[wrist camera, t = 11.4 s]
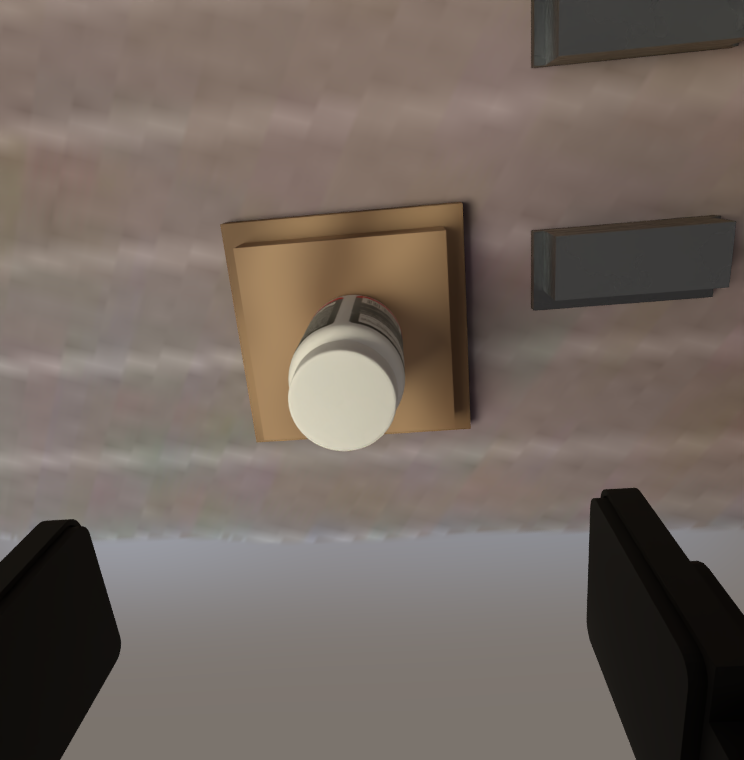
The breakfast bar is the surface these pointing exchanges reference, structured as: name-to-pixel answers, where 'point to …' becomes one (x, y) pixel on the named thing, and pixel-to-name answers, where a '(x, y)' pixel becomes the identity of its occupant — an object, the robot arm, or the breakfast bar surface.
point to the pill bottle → (347, 374)
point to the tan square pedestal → (354, 277)
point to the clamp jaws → (644, 238)
